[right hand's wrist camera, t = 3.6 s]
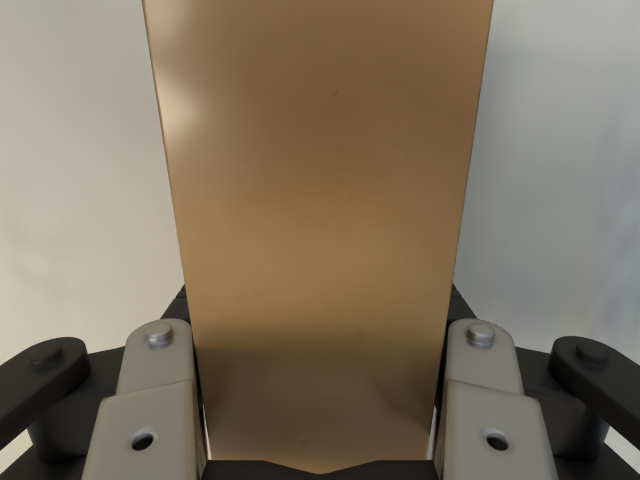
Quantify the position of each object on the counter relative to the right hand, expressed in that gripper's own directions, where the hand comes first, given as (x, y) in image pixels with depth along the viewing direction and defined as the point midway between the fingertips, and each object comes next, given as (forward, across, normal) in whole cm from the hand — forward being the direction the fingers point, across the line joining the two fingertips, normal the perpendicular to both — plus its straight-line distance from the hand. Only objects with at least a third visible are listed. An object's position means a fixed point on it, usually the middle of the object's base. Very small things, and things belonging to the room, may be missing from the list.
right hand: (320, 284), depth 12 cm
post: (+3, 0, -27) cm, 27 cm away
